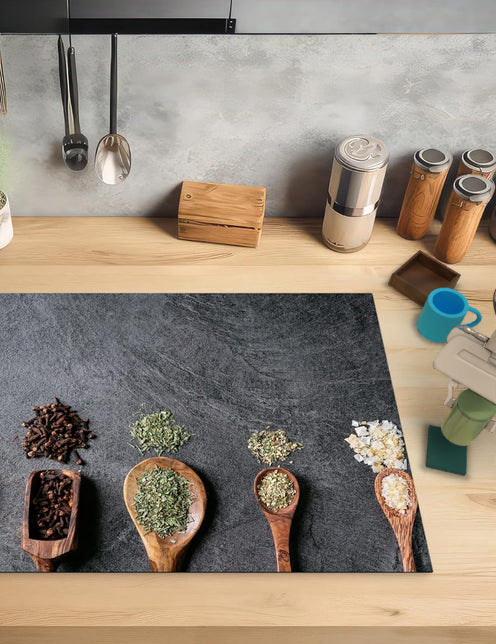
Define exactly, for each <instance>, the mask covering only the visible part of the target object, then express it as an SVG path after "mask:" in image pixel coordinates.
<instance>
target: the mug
mask: <svg viewBox="0 0 496 644" xmlns="http://www.w3.org/2000/svg"><path fill="white" fill-rule="evenodd" d="M468 312H471V313H472V314H474V315H476V318H475V319H474V320H472V321H471V322H469V323H466V324H465V323H464V324H462V323H463V321H464V320H465V317H466V316H467V313H468ZM482 319H483V315H482V313H481V312H480V310H479V309H477V308H475V307H473V306H471V305H470V304H469V301H468V299H467V298H466V296H465V295H464V294H462V292H460V291H458V290H456V289H454V288H453V289H450V288H439V289H435V290H434V291H432V292H431V293H430V295H429V296H428V298H427V301H426V303H425V305H424V307H422V309H421V310H420V314H419V316H418V318H417V320H416V328H417V329H416V330H417V331H418V333H419V334H420V335H421V336H422V337H423V338H424V339H426V340H428V341H430V342H434V343H446V338H447V336H448V335H449V333H450V332H451V330H452V329H453V328H455V327H457V326H463V327H465V326H468V327H470V328H472V329H473V328H475V327H476V326H478V325H479V324H480V323H481V321H482ZM458 329H460V330H462V331H463V329H462V328H458Z"/></svg>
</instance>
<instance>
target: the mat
mask: <svg viewBox="0 0 496 644" xmlns="http://www.w3.org/2000/svg"><path fill="white" fill-rule="evenodd" d="M426 444H427V445H426V446H427V447H426V459H425V460H426V461H425V462H426V463H425V467H426V468H428V469H434V470H437V471H442V472H447V473H451V474H454V475H459V476H462V477H463V476H464V477H465V476H466V475H467V461H468V460H467V459H468V445H466V446H461V445H456V444H454V443H452V442H450V441H449V440H448V439H447V438H446V437H445V436H444V435H443V433H442V430H441V426H437V425H433V424H429V426H428V428H427V443H426Z"/></svg>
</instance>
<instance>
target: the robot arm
mask: <svg viewBox="0 0 496 644" xmlns="http://www.w3.org/2000/svg"><path fill="white" fill-rule="evenodd" d="M492 306H493V312H494V315H495V316H496V288H495V289H494V291H493V294H492ZM458 328H462V329H463V330H460V329H458ZM431 362H432V368H433V369H434V370H436V371H437V372H439V373H440V374H442V375H444V376H446V377H448V378H449V379H450V380H449V382H448V385H447V397H446V398H445V400H444V402H443V404H442V405H443V406H446V407H447V408H449V409H451V407H452V406H453V404H454V402H455V401H456V399H457V398H456V397H454V389H457V388H458V387H459V385H461V386H463V387H464V388H466V389H470V390H472V391H474V392H475V393H477V394H479V395H480V396H482V397H484V398H486V399H487V400H489V401H491V402H493V403H494V404H496V329H494V331H493V332H492V334H491V336H490V337H489V336H487V335H485V334H483V333H481V332H479V331H476V330H474V329H473V328H470V327H468V326H465V327H463V326H457V327H455V328H453V329H452V330H451V332H450V333H449V335H448V336H447V338H446V342H445V345H444V346H443V347H442V349H440V351H439V352H438V354H437V355H436V356H435V357H434V359H433V360H432V361H431ZM484 430H485V431H487V432H489V433H491V434H493V433H494V431H495V430H496V421H494V420H493V419H491V420H490V421H489V423H488V424H487V425H486V427H485V428H484Z"/></svg>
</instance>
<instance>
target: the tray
mask: <svg viewBox="0 0 496 644" xmlns="http://www.w3.org/2000/svg"><path fill="white" fill-rule="evenodd" d="M461 276H462V274H460V273H459V272H458V271H456V270H454V269H453V268H451V267H449V266H447V265H446V264H444V263H443V262H441V261H439V260H437V259H436V258H434V257H432V256H431V255H429V254H428V253H426V252H425V251H423V250H421V249H418V250H417V251H416V252H415V253H414V254H413V255H412V256H411V257H410V258H409V259H408V260H406V261H405V262H404V263H403V264H401V266H400V267H398V268H397V269H396V270H395V271H393V272H392V273H391V276H390V278H389V282H388V283H387V286H389V287H390V288H391V289H393V290H395V291H397V292H398V293H399V294H401V295H403V296H404V297H406V298H407V299H409V300H411V301H412V302H414V303H416V305H418V306H420V307H422V308H423V307H424V305H425V303H426V301H427V298H428V296H429V295H430V293H431V292H432V291H434V290H435V289H439V288H450V289H454V288H455V287H456V286H457V284H458V282H459V280H460V279H461Z"/></svg>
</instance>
